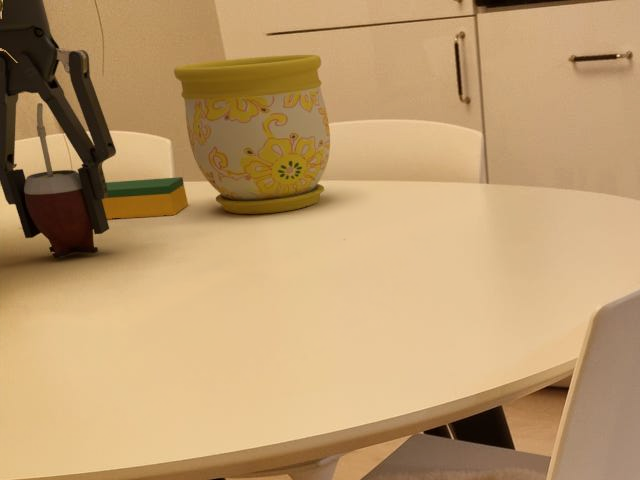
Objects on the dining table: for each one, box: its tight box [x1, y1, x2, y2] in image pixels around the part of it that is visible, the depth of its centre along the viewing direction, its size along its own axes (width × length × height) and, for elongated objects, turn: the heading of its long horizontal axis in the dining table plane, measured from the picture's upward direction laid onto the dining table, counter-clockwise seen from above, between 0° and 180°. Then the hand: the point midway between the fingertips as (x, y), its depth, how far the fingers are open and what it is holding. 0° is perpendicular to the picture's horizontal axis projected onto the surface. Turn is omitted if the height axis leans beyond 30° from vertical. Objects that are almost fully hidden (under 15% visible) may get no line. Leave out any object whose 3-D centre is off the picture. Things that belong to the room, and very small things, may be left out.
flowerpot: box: [173, 54, 331, 215], centre depth 121 cm, size 18×18×16 cm
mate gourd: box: [24, 102, 99, 259], centre depth 102 cm, size 8×8×15 cm
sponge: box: [102, 176, 189, 220], centre depth 126 cm, size 11×7×4 cm, turn 90°
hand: (67, 233), depth 105 cm, fingers closed on mate gourd, 7 cm apart
